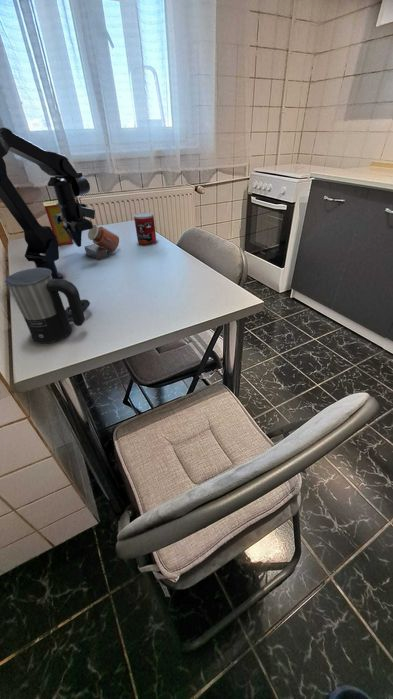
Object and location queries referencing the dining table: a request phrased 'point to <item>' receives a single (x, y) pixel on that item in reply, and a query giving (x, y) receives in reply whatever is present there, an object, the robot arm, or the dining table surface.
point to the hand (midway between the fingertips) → (79, 246)
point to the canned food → (145, 228)
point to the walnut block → (96, 251)
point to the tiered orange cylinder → (103, 238)
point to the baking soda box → (57, 228)
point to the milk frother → (46, 303)
